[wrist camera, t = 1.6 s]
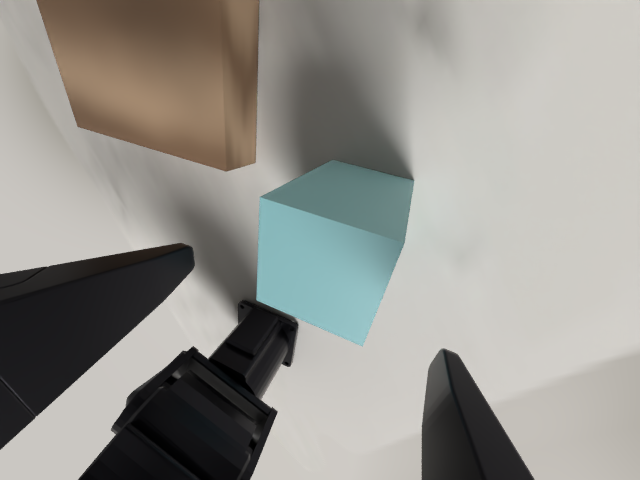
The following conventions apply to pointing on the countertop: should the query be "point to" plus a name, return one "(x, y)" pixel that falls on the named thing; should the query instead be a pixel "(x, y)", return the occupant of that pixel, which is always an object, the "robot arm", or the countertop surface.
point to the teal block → (332, 245)
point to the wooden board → (162, 73)
